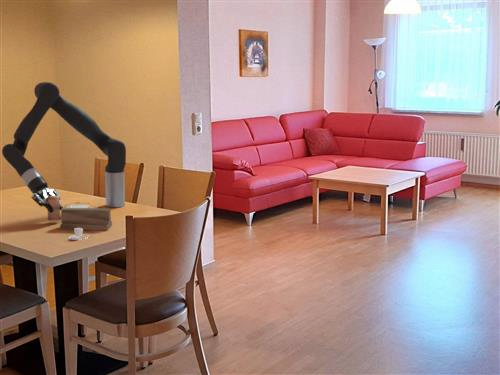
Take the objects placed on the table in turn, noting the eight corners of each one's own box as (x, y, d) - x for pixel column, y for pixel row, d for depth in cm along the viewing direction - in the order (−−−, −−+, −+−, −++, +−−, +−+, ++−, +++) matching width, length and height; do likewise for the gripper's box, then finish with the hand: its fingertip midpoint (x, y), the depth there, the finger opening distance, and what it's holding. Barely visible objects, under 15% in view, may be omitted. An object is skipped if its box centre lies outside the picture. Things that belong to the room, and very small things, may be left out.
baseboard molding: (59, 223, 273) (87, 222, 276) (59, 217, 273) (87, 216, 275) (63, 208, 303) (89, 207, 306) (63, 202, 302) (88, 202, 305)
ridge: (66, 224, 269) (65, 206, 268) (112, 225, 270) (111, 207, 268) (60, 229, 260) (59, 211, 259) (107, 230, 261) (107, 211, 259)
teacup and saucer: (74, 242, 243) (73, 232, 242) (62, 238, 248) (62, 229, 247) (92, 238, 250) (92, 228, 249) (81, 234, 255) (81, 225, 254)
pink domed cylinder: (50, 217, 274) (49, 195, 272) (61, 217, 274) (60, 195, 272) (46, 220, 269) (45, 198, 267) (58, 220, 269) (57, 198, 267)
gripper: (26, 178, 264) (50, 208, 262) (50, 173, 277) (72, 201, 275) (18, 189, 267) (41, 219, 265) (41, 183, 280) (63, 212, 278)
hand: (57, 210), depth 270 cm, fingers closed on pink domed cylinder, 5 cm apart
